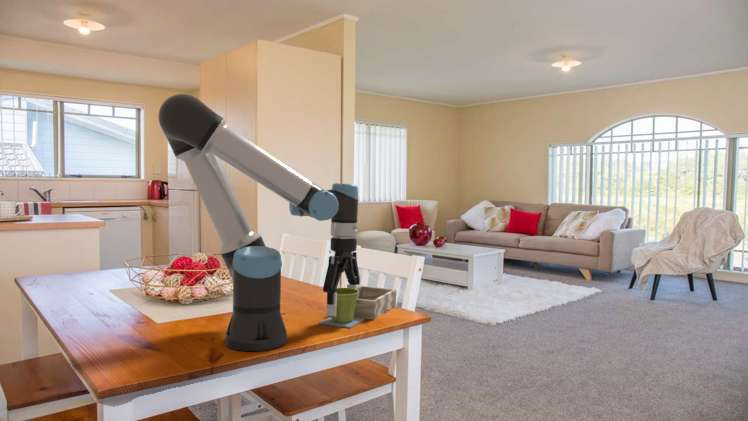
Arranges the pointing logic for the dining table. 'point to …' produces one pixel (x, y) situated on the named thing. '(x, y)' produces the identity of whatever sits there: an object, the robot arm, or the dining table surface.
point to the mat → (346, 325)
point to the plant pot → (345, 304)
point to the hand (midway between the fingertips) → (341, 310)
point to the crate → (374, 301)
